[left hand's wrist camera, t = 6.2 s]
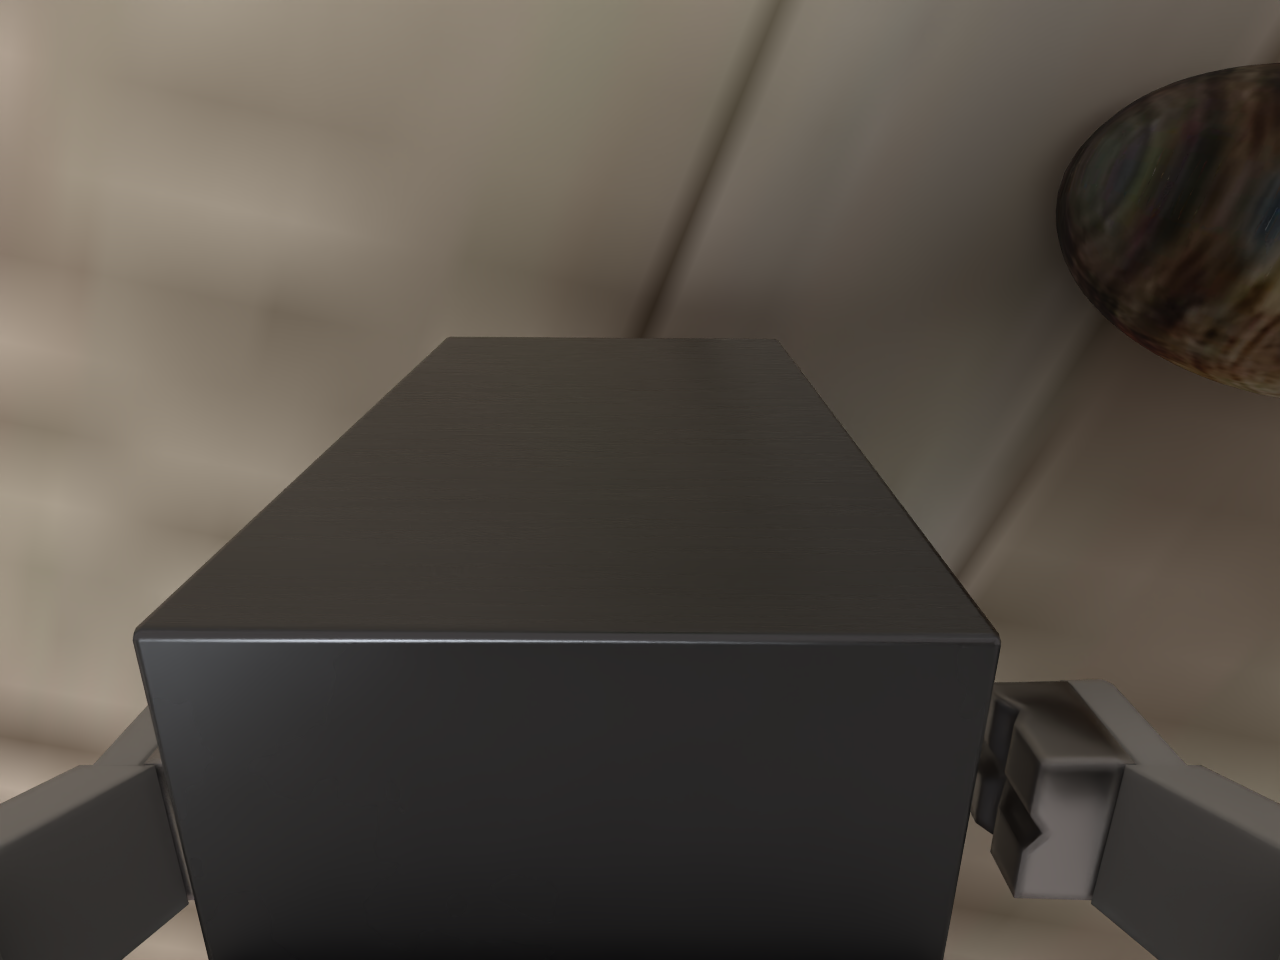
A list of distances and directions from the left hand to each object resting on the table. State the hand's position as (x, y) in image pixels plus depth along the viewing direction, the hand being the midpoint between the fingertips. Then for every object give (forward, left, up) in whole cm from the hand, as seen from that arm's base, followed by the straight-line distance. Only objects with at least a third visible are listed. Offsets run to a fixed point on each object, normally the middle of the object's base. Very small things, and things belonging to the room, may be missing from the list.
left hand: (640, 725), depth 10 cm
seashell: (-13, -2, -12) cm, 18 cm away
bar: (+3, +8, -3) cm, 9 cm away
